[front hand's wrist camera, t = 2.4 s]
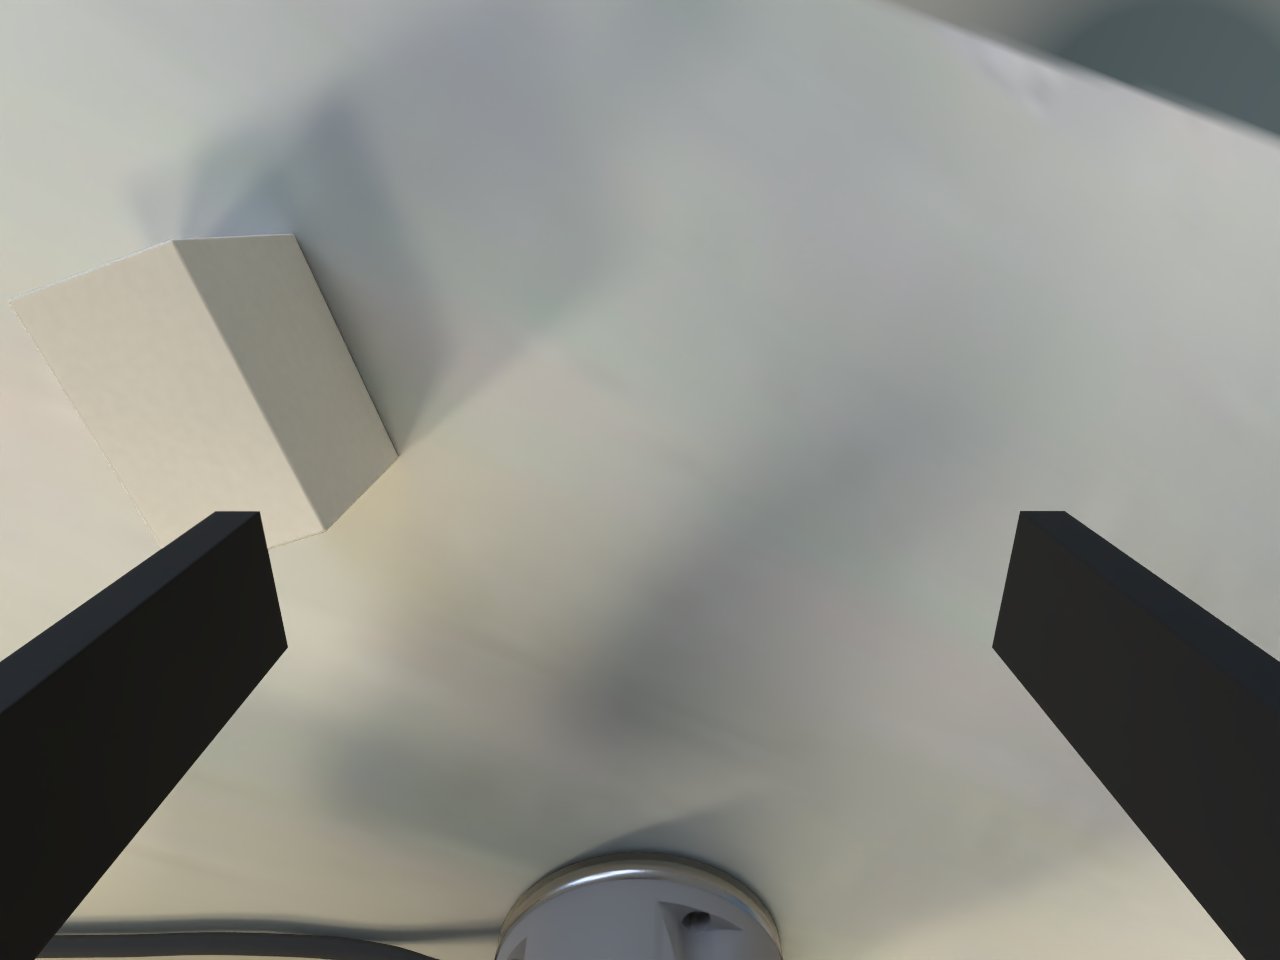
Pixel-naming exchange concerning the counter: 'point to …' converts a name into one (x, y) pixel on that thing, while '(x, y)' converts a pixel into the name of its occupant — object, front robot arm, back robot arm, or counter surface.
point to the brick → (214, 383)
